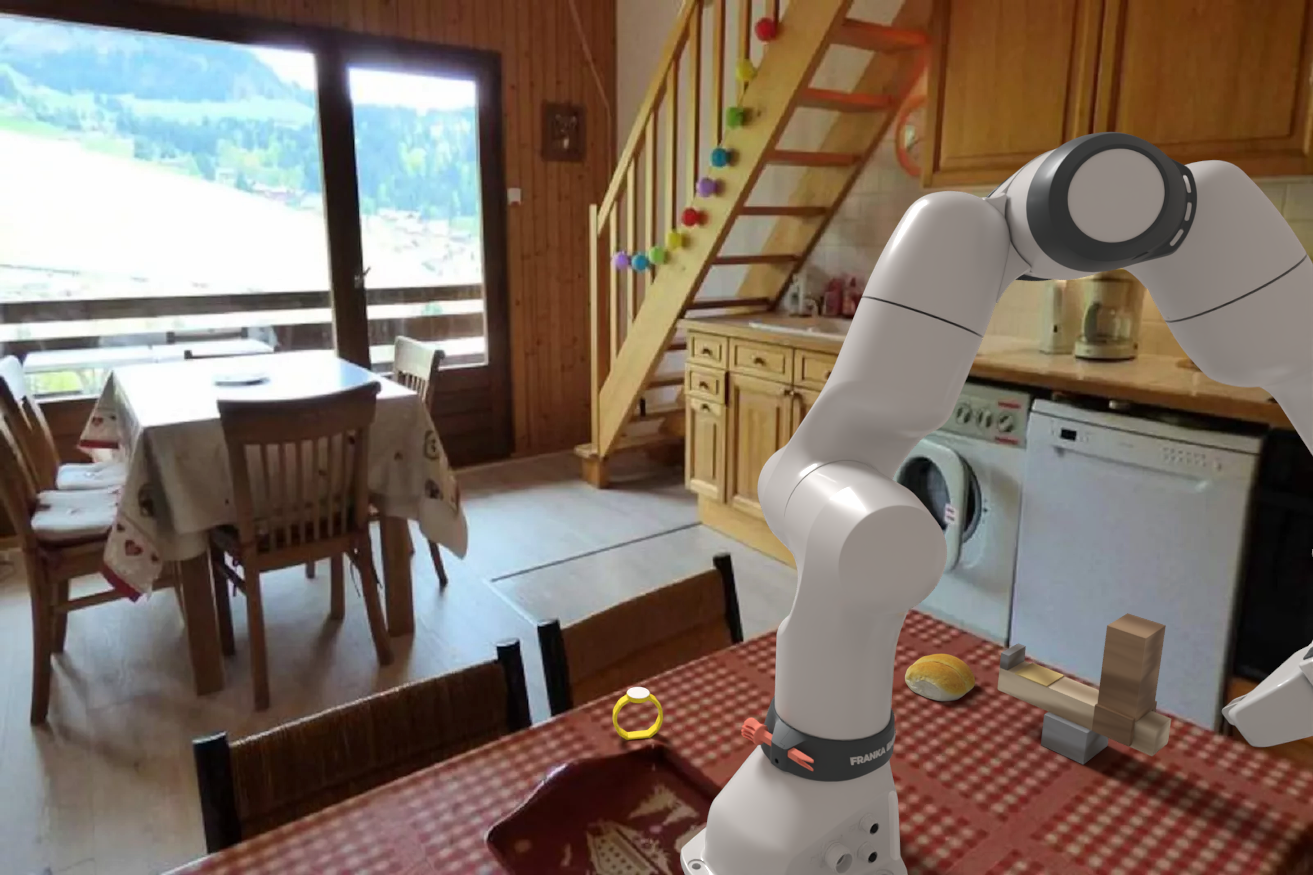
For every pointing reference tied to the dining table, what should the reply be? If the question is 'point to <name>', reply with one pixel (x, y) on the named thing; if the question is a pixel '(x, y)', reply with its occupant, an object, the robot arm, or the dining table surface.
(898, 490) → the robot arm
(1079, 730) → the seesaw
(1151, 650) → the plate
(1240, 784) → the dining table surface
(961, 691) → the bread roll
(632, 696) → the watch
